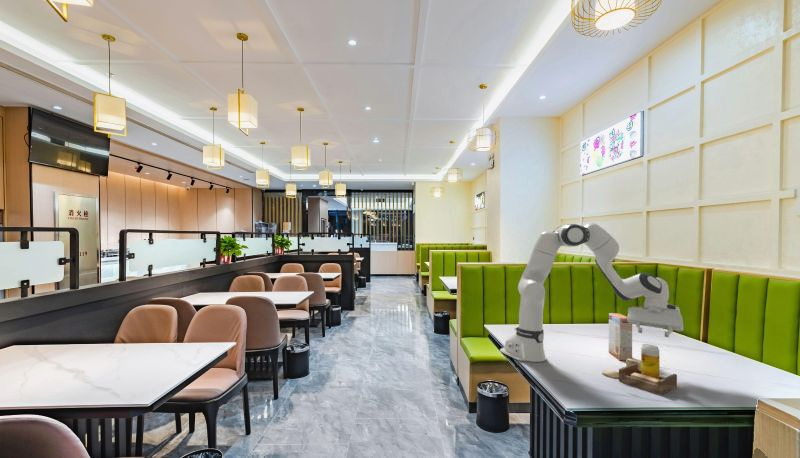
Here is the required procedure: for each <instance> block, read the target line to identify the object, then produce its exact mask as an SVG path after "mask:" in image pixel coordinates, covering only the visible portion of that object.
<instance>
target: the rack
mask: <svg viewBox="0 0 800 458" xmlns="http://www.w3.org/2000/svg"><path fill="white" fill-rule="evenodd" d="M618 372H619V379H618V381H619V382H620V383H623V384H626V385H629V386H633V387H635V388H639V389H642V390H645V391H648V392H651V393H653V394H657V395H660V396H662V395H665V394H667V393H668V392H670V391H672V390H674V389H676V388H677V387H678V374H676V373H672V374H670V375H668V376H666V377H665V376H661V375H660V380H659V381H658V385H656V384H653V383H650V382H646V381H643V380H640V379H637V378H633V377H631V374H632V373H638V374H641V370H638V364H637V363H634V364H631V365H628V366H626V365H625V366H624V367H620V368H618Z"/></svg>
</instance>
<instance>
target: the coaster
mask: <svg viewBox="0 0 800 458" xmlns="http://www.w3.org/2000/svg"><path fill="white" fill-rule="evenodd" d="M601 372H602V373H601V374H602V375H603V376H605V377H607V378H611V379H617V380H619V371H616V370H615V371H614V370H608V369H605V370H602V371H601Z"/></svg>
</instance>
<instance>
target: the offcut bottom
mask: <svg viewBox="0 0 800 458" xmlns="http://www.w3.org/2000/svg"><path fill="white" fill-rule="evenodd" d="M631 377H633V378H637V379H640V380H643V381H646V382H650V383H653V384H656V385H658V381H659V380H660V379H656V378H652V377H649V376H645V375H642V374H638V373H632V374H631Z"/></svg>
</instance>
